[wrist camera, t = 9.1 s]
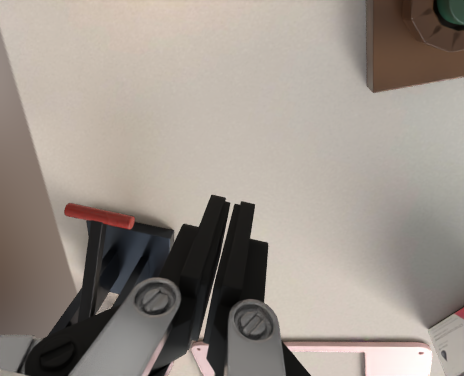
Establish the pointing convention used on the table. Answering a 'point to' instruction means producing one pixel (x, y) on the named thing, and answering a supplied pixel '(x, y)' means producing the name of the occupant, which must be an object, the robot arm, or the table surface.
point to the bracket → (124, 264)
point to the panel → (376, 353)
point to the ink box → (450, 343)
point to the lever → (95, 250)
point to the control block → (410, 45)
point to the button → (452, 10)
